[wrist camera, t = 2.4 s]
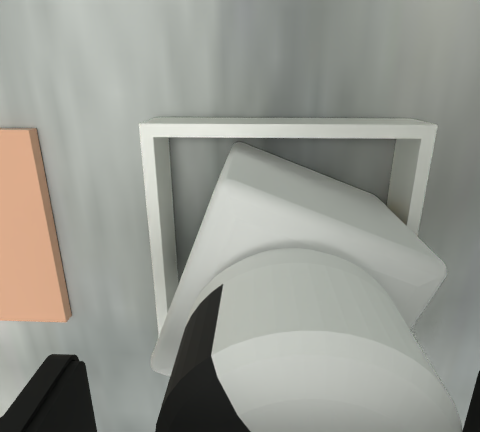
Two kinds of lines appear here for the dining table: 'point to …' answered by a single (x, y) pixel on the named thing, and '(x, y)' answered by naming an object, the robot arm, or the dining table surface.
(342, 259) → the medicine bottle
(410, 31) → the dining table surface
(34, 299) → the coaster
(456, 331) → the dining table surface
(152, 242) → the parts bin
